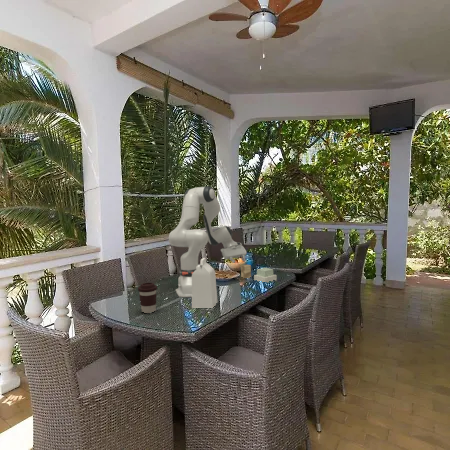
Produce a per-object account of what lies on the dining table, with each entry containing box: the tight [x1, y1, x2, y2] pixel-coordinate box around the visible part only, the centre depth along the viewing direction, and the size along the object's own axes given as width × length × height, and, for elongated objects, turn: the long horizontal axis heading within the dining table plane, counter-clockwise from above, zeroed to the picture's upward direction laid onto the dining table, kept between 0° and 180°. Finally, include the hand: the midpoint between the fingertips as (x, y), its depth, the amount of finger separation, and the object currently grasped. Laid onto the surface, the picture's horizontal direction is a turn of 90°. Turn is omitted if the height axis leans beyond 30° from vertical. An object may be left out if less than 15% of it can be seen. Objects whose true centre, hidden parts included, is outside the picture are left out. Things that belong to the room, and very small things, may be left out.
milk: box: [191, 257, 218, 309], centre depth 194 cm, size 12×12×26 cm
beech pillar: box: [240, 264, 252, 279], centre depth 254 cm, size 5×5×9 cm
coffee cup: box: [137, 282, 158, 314], centre depth 187 cm, size 10×10×15 cm
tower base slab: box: [253, 274, 277, 283], centre depth 246 cm, size 11×11×4 cm
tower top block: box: [256, 267, 274, 277], centre depth 246 cm, size 8×8×4 cm
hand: (239, 261), depth 259 cm, fingers open, 8 cm apart
